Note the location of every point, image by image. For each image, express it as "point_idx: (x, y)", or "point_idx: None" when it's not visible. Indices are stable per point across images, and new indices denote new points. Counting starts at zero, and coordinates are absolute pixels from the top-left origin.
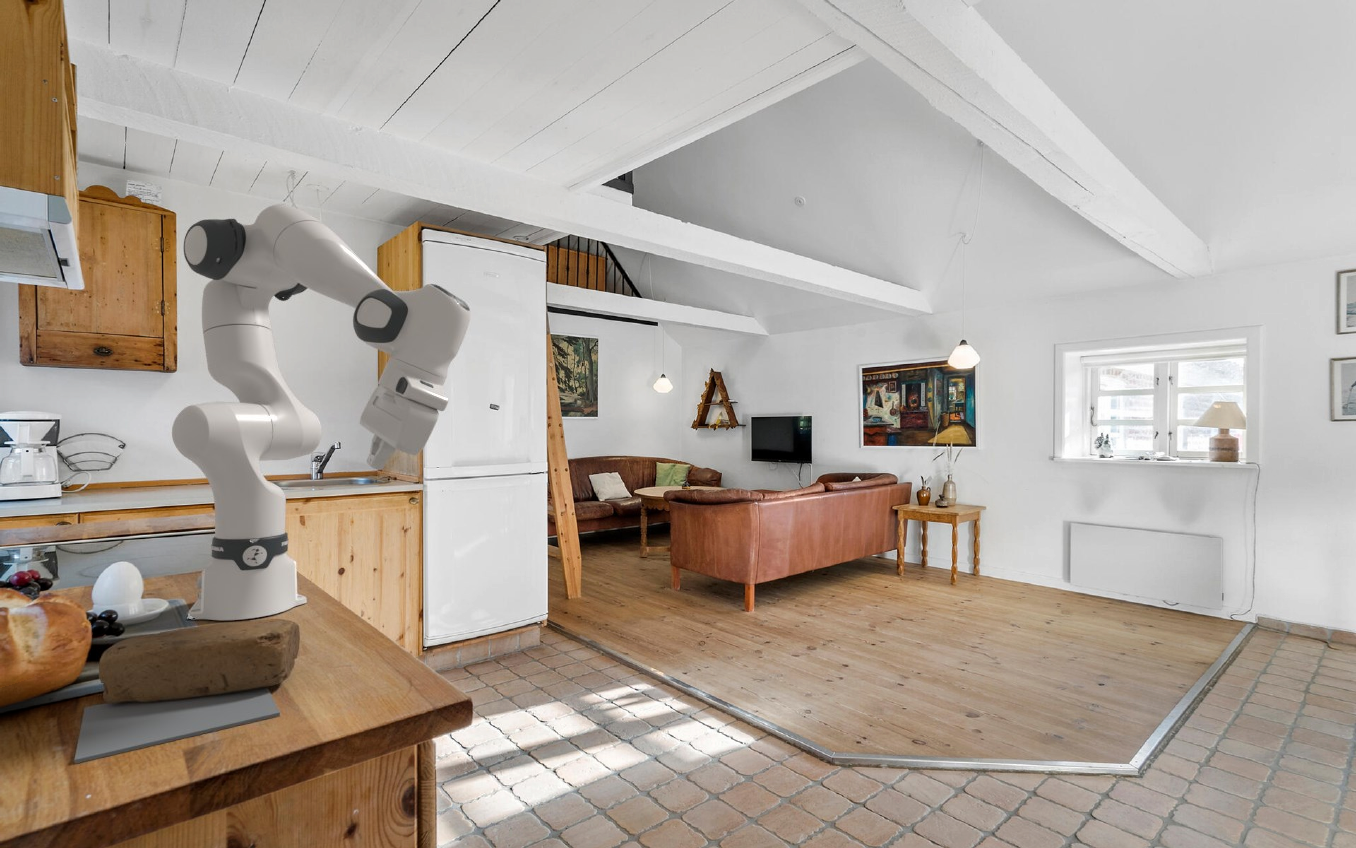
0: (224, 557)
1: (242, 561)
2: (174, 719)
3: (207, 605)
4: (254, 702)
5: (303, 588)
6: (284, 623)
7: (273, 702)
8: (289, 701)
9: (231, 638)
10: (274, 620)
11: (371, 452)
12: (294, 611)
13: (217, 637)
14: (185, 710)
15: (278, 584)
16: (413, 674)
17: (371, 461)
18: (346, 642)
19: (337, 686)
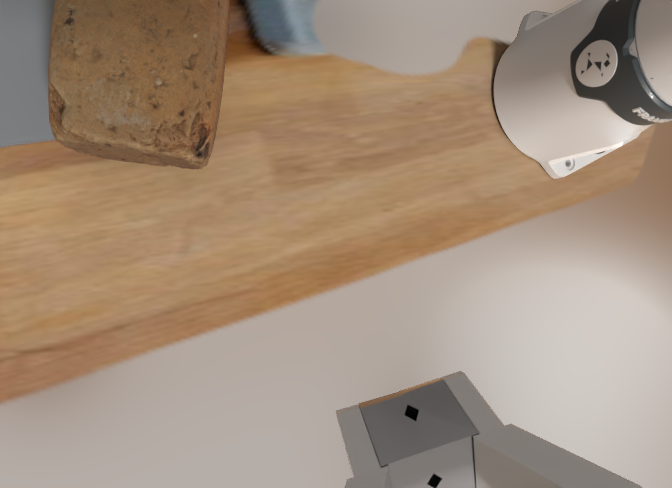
0: (602, 10)
1: (585, 46)
2: (3, 7)
3: (532, 30)
4: (32, 114)
5: (636, 172)
6: (117, 129)
7: (17, 141)
8: (32, 165)
9: (56, 36)
10: (161, 111)
11: (481, 438)
12: (516, 162)
13: (67, 10)
14: (41, 21)
15: (556, 126)
16: (84, 353)
17: (381, 417)
18: (315, 243)
19: (77, 234)
